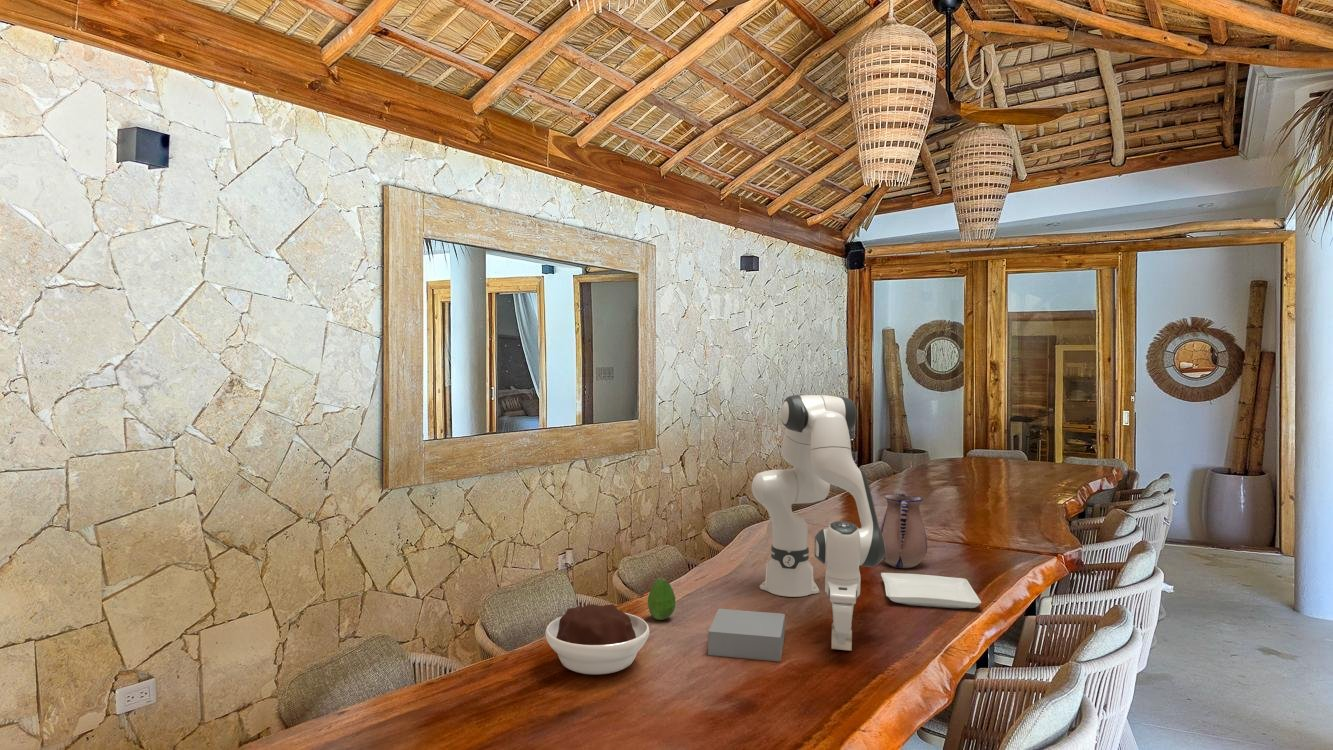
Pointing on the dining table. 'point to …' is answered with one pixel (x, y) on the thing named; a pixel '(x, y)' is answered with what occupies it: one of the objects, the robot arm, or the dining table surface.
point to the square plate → (930, 590)
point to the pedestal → (747, 635)
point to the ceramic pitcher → (903, 531)
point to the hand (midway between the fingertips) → (841, 639)
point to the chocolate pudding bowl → (597, 638)
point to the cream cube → (847, 640)
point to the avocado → (661, 599)
